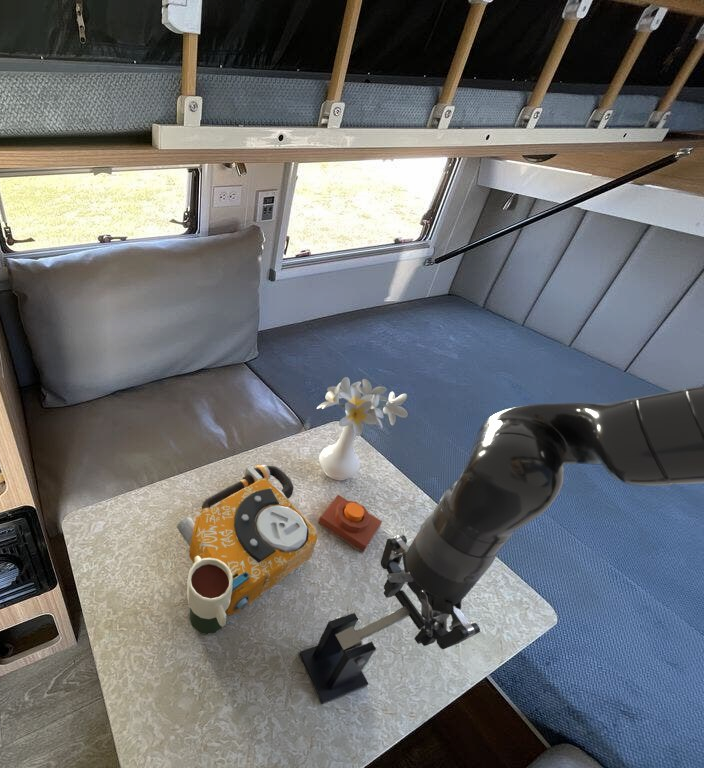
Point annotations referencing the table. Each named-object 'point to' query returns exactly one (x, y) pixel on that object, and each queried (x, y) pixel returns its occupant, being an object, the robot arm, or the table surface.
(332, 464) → the flower vase
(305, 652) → the bracket
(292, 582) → the table surface
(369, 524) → the block
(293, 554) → the device
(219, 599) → the character mug
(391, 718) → the table surface
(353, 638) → the lever
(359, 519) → the button
